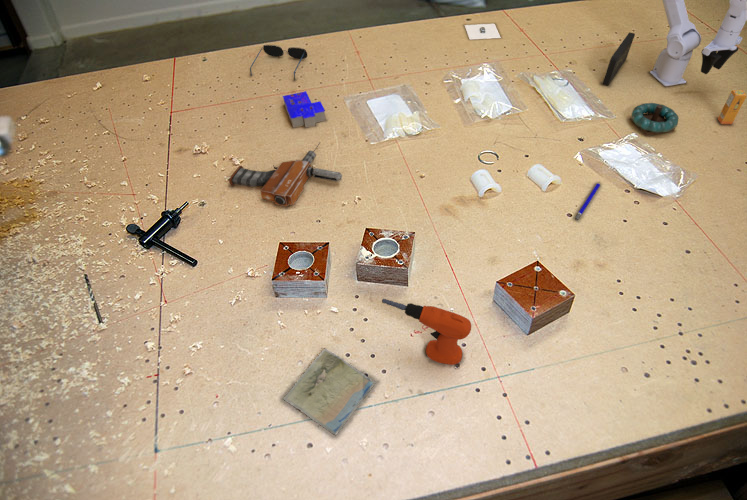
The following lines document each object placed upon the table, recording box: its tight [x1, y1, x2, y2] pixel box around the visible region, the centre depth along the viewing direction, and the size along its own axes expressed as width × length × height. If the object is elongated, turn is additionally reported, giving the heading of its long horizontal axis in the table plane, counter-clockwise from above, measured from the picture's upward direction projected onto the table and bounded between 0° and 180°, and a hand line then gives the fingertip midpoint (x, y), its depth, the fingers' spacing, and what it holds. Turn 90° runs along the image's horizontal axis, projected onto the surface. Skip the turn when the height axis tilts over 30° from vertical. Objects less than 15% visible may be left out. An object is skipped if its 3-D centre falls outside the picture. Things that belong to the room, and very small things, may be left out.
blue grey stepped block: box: [282, 90, 326, 129], centre depth 168 cm, size 11×15×5 cm
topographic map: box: [282, 347, 377, 436], centre depth 105 cm, size 14×14×2 cm
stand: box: [630, 104, 676, 137], centre depth 158 cm, size 9×9×7 cm
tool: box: [228, 142, 343, 207], centre depth 149 cm, size 4×27×30 cm
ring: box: [630, 102, 680, 133], centre depth 159 cm, size 13×13×3 cm
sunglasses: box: [249, 44, 308, 81], centre depth 189 cm, size 17×15×5 cm
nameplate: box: [602, 31, 636, 86], centre depth 178 cm, size 21×2×10 cm, turn 146°
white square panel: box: [464, 23, 502, 41], centre depth 204 cm, size 12×12×2 cm
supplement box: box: [717, 89, 747, 125], centre depth 157 cm, size 3×3×10 cm
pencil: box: [574, 182, 601, 221], centre depth 139 cm, size 17×1×1 cm, turn 145°
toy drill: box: [381, 298, 472, 366], centre depth 105 cm, size 5×19×15 cm, turn 71°
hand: (710, 70), depth 166 cm, fingers open, 5 cm apart
